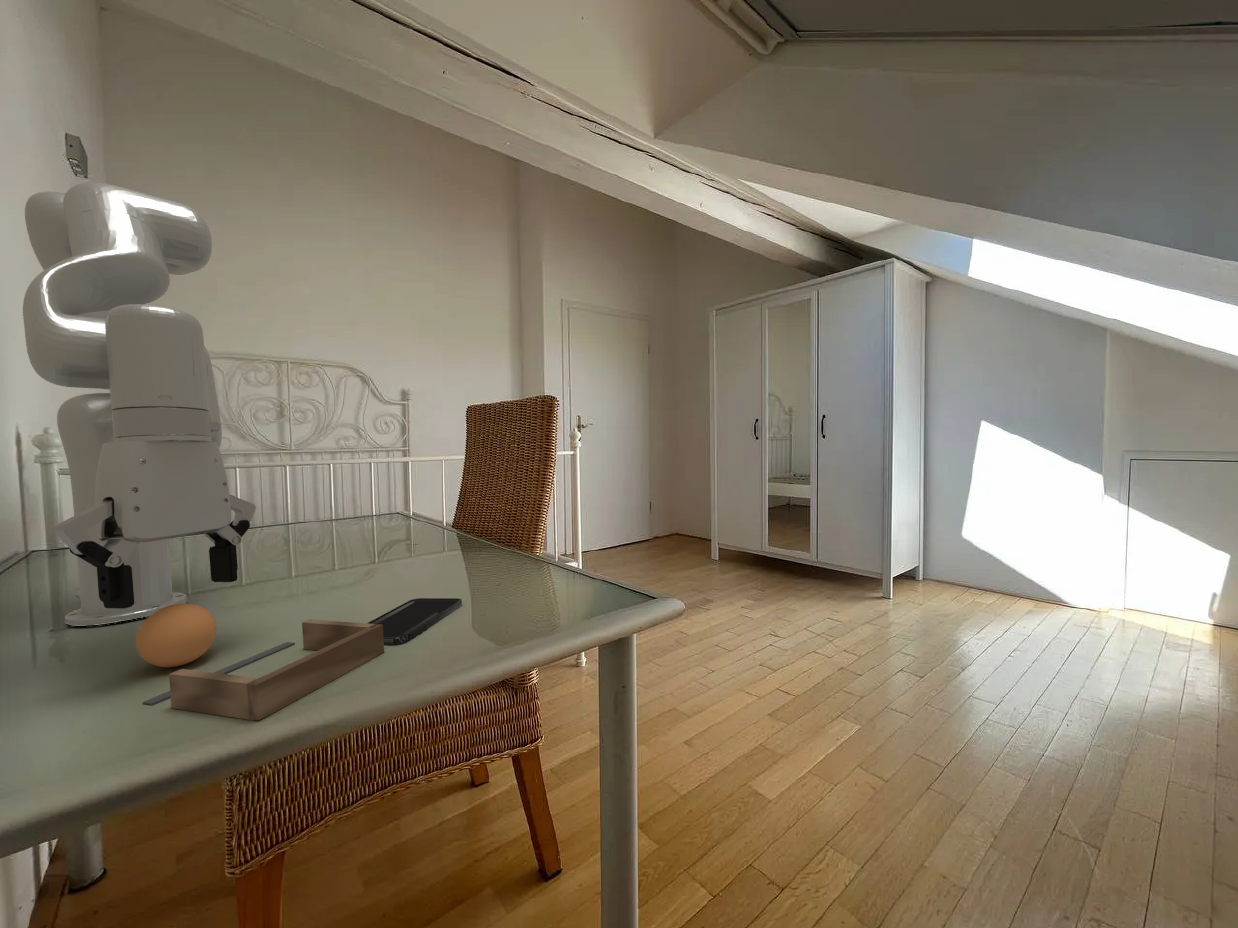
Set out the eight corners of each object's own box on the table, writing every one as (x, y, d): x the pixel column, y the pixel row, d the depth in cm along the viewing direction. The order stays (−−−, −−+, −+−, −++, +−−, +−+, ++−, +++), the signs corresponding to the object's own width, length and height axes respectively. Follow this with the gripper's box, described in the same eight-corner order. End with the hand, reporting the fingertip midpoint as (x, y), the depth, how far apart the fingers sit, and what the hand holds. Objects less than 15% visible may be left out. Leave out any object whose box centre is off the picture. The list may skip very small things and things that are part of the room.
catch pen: (171, 707, 44) (169, 673, 44) (311, 645, 57) (309, 619, 57) (258, 720, 41) (256, 684, 41) (384, 652, 54) (382, 624, 54)
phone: (339, 637, 57) (413, 597, 72) (340, 647, 57) (414, 605, 72) (403, 639, 56) (465, 598, 71) (403, 649, 56) (465, 606, 71)
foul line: (142, 703, 45) (142, 701, 45) (286, 643, 58) (286, 641, 58) (152, 705, 44) (152, 703, 44) (294, 643, 58) (294, 642, 58)
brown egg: (121, 675, 51) (117, 612, 51) (191, 650, 57) (187, 594, 57) (166, 680, 49) (161, 616, 49) (232, 654, 55) (229, 596, 55)
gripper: (223, 434, 62) (234, 573, 62) (23, 429, 45) (38, 619, 45) (270, 429, 59) (280, 573, 60) (78, 422, 43) (93, 621, 43)
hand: (176, 593), depth 52 cm, fingers open, 9 cm apart
